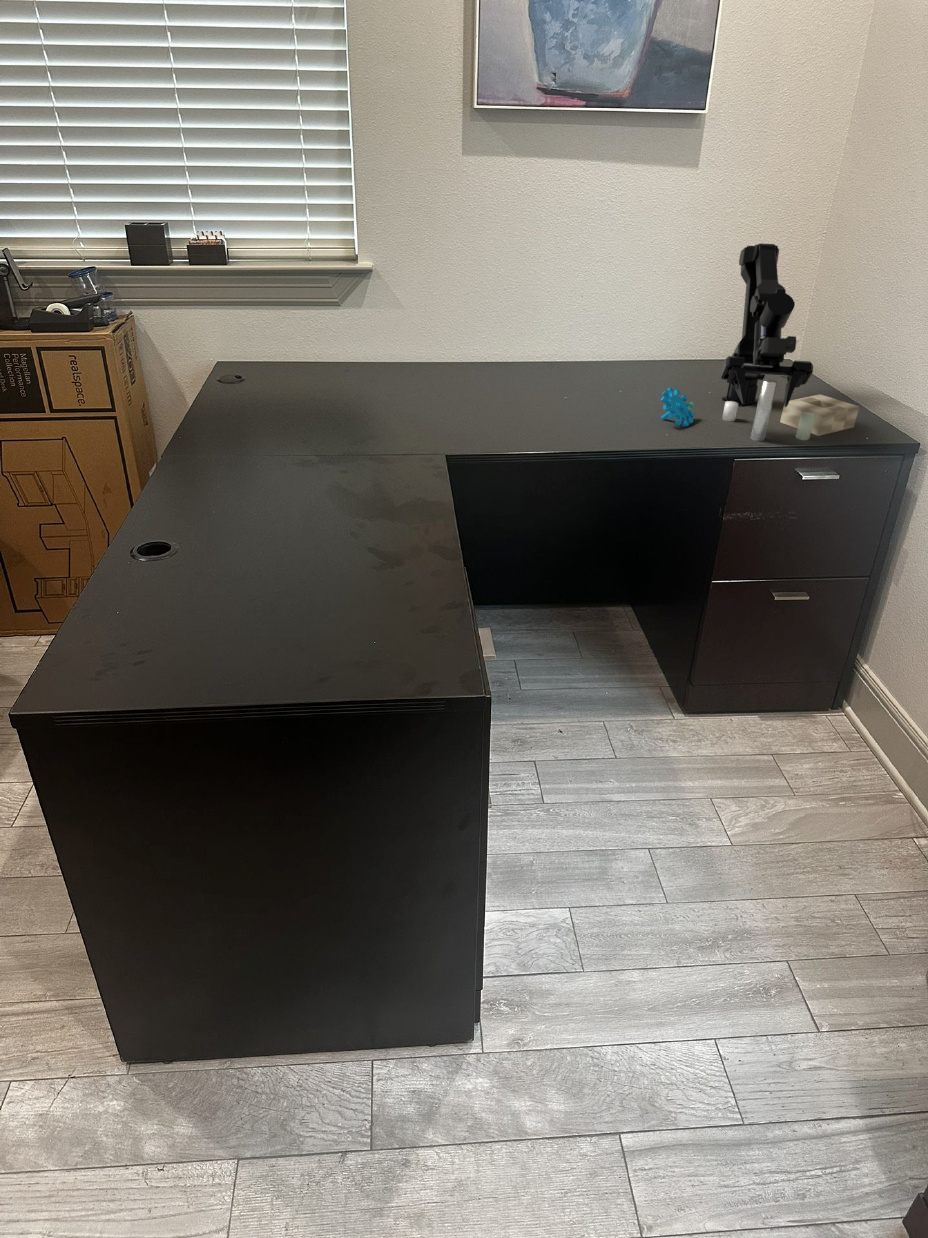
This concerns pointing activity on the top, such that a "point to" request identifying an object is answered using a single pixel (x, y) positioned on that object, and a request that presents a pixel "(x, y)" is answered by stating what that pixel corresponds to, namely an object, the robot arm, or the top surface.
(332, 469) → the top surface
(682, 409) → the blue spiky toy
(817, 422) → the hole block
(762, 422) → the long pin
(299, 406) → the top surface
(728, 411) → the short pin
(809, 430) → the mid pin
